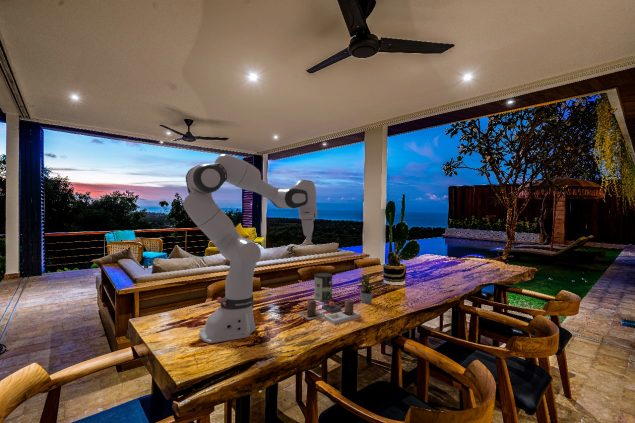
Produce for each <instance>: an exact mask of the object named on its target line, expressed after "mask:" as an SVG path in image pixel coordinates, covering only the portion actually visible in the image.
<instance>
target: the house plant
mask: <svg viewBox="0 0 635 423" xmlns="http://www.w3.org/2000/svg"><path fill="white" fill-rule="evenodd" d="M361 275H362V278H363V280H362V279H361V278H357V277H358V276H355V278H357V280H358V281H359V282H360V283H361V285H360V284H358V283H355V284H356V287H359V288H360V299H361V300H360V301H361V303H363V304H365V305H367V306H368V305H371V304H372V302H373V297H374V296H373V295H374V289H377V288H376V287H375V285H374V282H375V281H377V280H379V278H378V279H376V278H373V280H372V282H371V283H370V280H371V279H370V274H369V275H368V274H365V275H364V273H361Z"/></svg>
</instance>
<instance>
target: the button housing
mask: <svg viewBox="0 0 635 423" xmlns="http://www.w3.org/2000/svg"><path fill="white" fill-rule="evenodd" d="M321 309H322V310H323V311H326V312H327V313H329V314H333V313H334V312H335V313H337V312H338V311H339V312H341V311H342V306H340V305H338V304H334V307H333V308H330V307H329V303H327V304H324V305H323V304H322V305H321Z"/></svg>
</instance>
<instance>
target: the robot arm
mask: <svg viewBox="0 0 635 423" xmlns="http://www.w3.org/2000/svg"><path fill="white" fill-rule="evenodd" d="M185 183H186V184H185V185H186V187H187V192H188V195H187V196H186V197H185V198H184V200H183V203H182V204H183V205H182V207H183V209H184V211H185V212H186V213H187V215H188V216H189V218H190V219H191V220H192V222H193V223H194V224H195V225H196V226H197V227H198V228H199V230H200V231H201V232H203V234H204V235H205V236H206V237H207V238H208V239H209V240H210V241H211V242H212V244H213V245H214V247H215V248H216V249H217V250H218V251H219V253H220V254H221V255H222V256H223V257H224V258H225V259H226V260H227V261H229V268H228V272H227V276H226V277H225V289H224V290H225V291H224V292H225V296H224V297H223V298H222V297H221V296H219V297H217V298H216V301H217V302H218V303H219V304H220V306H219V307H218V308H217V309H216V310H214V311H213V312H212V313H210V315H208V317H207V318H206V321H205V325H204V326H205V327H202V328H201V329H200V330H199V333H198V336H199V337H200V339H201V340H202V341H203V342H205V343H208V344H214V343H220V342H226V341H232V340H238V339H239V340H240V339H244V338H245V339H246V338H249V337H250V335H251V334H252V333H253V332H255V331H256V328H257V327H256V323H255V319H254V310H253V308H254V301H255V300H254V294H253V285H254V284H253V280H254V275H255V274H254V273H255V269H256V266H257V263H258V262H259V261H260V258H261V255H262V252H261V248H260V246H259V245H258V244H257V243H256V241H253V240H252V239H249V238H246V237H243V236H242V235H241V234H240V233H239V231H238V230H237V228H236V227H235V225H234V222H233V221H232V220H231V218H230V217H229V216H228V215H227V214H226V213H225V211H224V210H222V208H221V207H220V206H219V205H218V204H217V203H216V202H215V200H214V198H213V196H212V195H213V194H212V193H215V192H217V191H218V190H219V189H220V188H221V187H222V186H223V185H224V184H225V183H228V184H230V185H233V186H235V187H236V188H240V189H241V190H245V191H249V192H253V193H256V194H258V195H260V196H262V197H265V198H266V199H268V200H269V201H270V202H271V203H272V204H273V206H275V207H276V208H278V209H292V210H293V209H297V208H298V218H299V219H300V220H301V227H302V232H303V236H305V238H306V244H308V245H311V243H312V239H313V233H314V221H315V220H316V218H318V206H317V203H316V201H317V190H316V185H315V183H314V181H312V180H308V179H300V180H298V181H297V182H296V183H295V184H293V185H292V186H289V187H276V186H273V185H271V184H269V183H267V182H266V181H264V180H263V179H262V173H261V171H260V169H259V168H257V167H256V166H254V165H253V164H251V163H249V162H247V161H245V160H243V159H241V158H240V157H239V158H238V157H236V156H234V155H230V154H226V153H224V154H221V155H219V156H218V157H217V158H216V159H215V160H214V163H204V164H197V165H195V166H194V167H192V168H190V169H189V170H188V171H187V172H186V174H185Z"/></svg>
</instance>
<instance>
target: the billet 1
mask: <svg viewBox="0 0 635 423" xmlns="http://www.w3.org/2000/svg"><path fill="white" fill-rule="evenodd" d="M306 305H307V310H306V311H307V313H306V317H309V318H312V317H316V314H317V313H316V311H317V300H315V299H309V300H307V304H306Z"/></svg>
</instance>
